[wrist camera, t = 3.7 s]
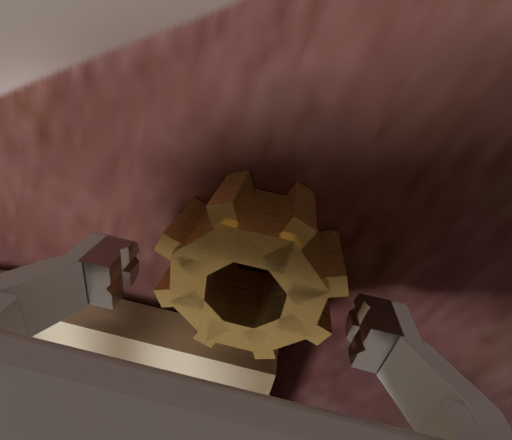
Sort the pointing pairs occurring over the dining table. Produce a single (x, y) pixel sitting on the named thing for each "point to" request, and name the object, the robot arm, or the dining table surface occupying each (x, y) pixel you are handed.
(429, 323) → the dining table surface
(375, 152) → the dining table surface
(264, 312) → the brass gear
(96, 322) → the gear board
